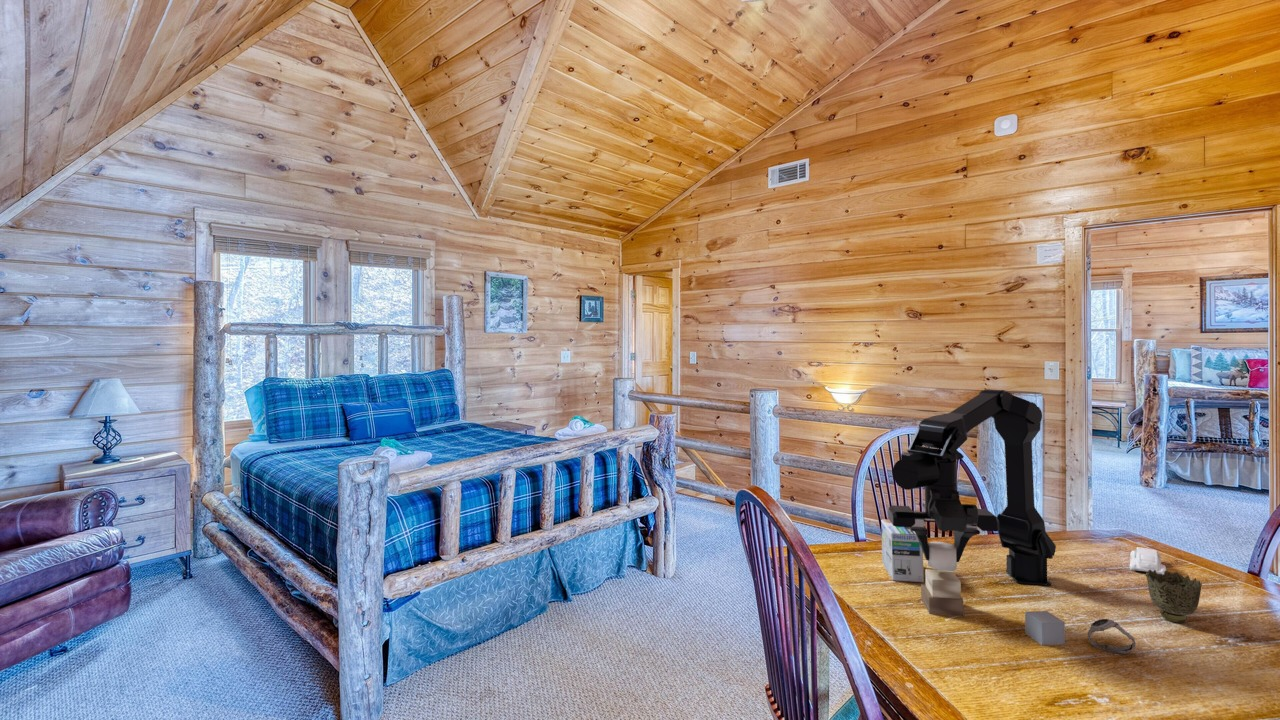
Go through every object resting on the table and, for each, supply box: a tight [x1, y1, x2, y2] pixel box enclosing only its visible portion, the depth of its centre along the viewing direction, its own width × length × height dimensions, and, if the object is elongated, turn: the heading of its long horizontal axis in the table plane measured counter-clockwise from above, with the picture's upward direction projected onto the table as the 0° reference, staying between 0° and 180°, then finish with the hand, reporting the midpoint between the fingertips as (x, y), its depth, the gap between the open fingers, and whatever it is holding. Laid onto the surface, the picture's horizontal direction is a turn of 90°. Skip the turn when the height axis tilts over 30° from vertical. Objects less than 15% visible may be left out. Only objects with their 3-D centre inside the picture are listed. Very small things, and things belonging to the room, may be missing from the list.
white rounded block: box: [1128, 546, 1167, 575], centre depth 126 cm, size 12×6×5 cm, turn 140°
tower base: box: [920, 583, 964, 618], centre depth 109 cm, size 6×6×4 cm
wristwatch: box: [1087, 618, 1137, 655], centre depth 93 cm, size 4×6×5 cm, turn 51°
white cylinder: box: [927, 541, 958, 572], centre depth 109 cm, size 5×5×4 cm
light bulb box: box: [880, 519, 924, 583], centre depth 126 cm, size 11×7×11 cm, turn 168°
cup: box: [1145, 570, 1203, 624], centre depth 102 cm, size 8×7×8 cm
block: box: [1024, 610, 1066, 646], centre depth 97 cm, size 4×4×4 cm
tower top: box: [924, 568, 962, 599], centre depth 109 cm, size 5×5×4 cm
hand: (942, 560), depth 109 cm, fingers closed on white cylinder, 5 cm apart
